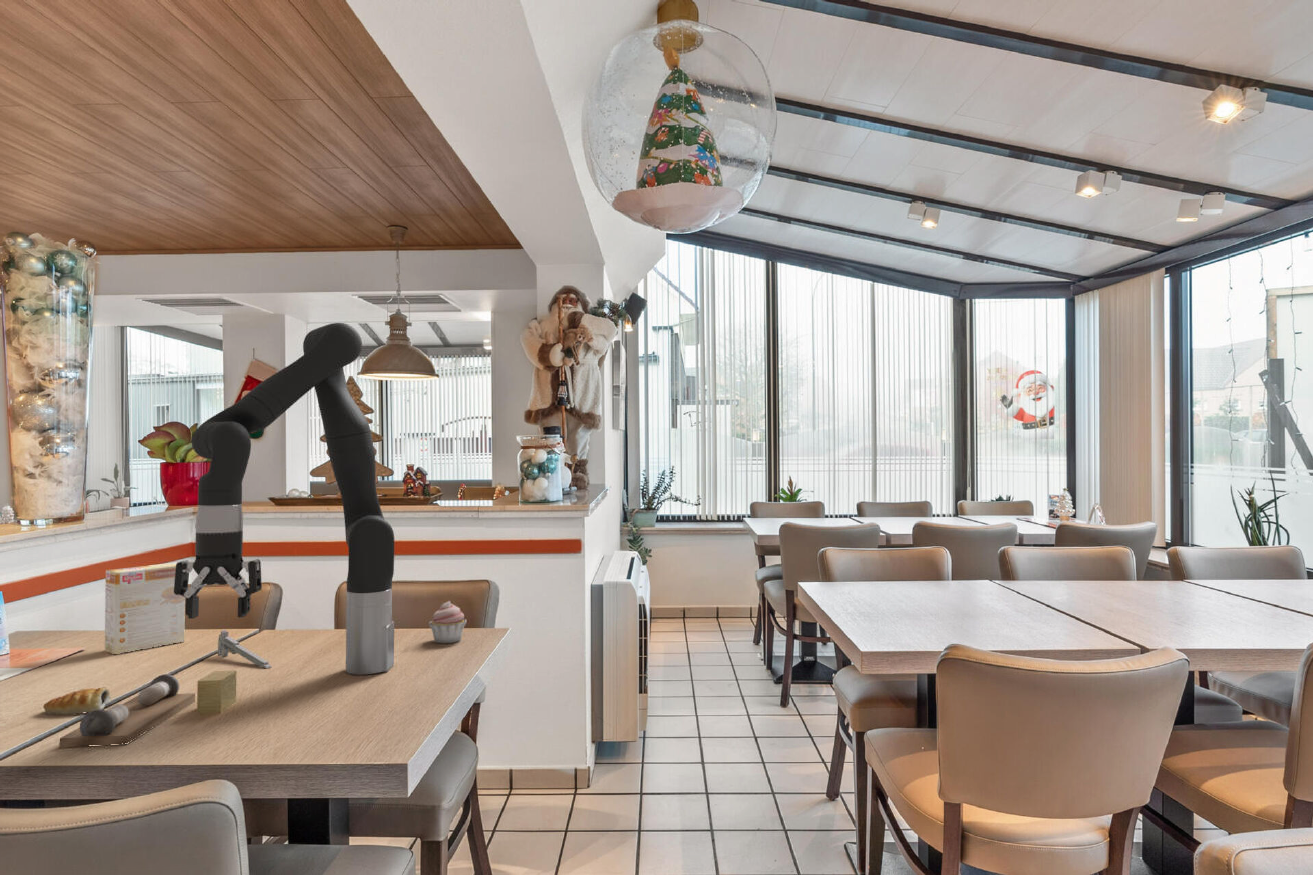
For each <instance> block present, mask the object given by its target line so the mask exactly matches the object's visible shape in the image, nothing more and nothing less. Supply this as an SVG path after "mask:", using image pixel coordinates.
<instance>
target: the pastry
mask: <svg viewBox="0 0 1313 875" xmlns="http://www.w3.org/2000/svg"><path fill="white" fill-rule="evenodd" d="M110 702H111V695H110V690H109V689H108V688H107V687H105V686H104V687H98V688H81V689H80V690H77V691H72V692H70V693H67V694H64V695H62V696H58V697H55V698H52V699H50V700H48V701H47V702H45V703H44V704H43V705H42V707H43V709H44V711H45V713H46V714H48V715H50V714H51V715H52V714H54V715H58V714H63V716H68V715H67V714H69V715H77V714H76V713H83V712H92V711H94V710H99V709H102V710H104V708H105V706H106V705H108V704H109V703H110ZM65 714H66V715H65ZM51 715H50V716H51Z"/></svg>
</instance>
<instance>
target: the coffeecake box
mask: <svg viewBox="0 0 1313 875" xmlns="http://www.w3.org/2000/svg"><path fill="white" fill-rule="evenodd" d="M177 563H178V562H168V563H160V564H151V565H141V566H134V567H133V566H132V567H124V568H116V569H115V568H114V569H106V570H105V582H104V583H105V585H104V586H105V590H104V592H105V593H104V594H105V596H104V600H105V602H104V604H105V605H104V651H105V650H106V651H108V652H107V653H109V652H110V654H111V653H112V655H113V654H117V655H121V653H122V654H125V653H124V652H128V653H132V652H131V651H133V652H136V651H135V650H138V651H141V650H140V649H143V650H147V649H148V648H149V649H153V648H152V647H154V648H158V646H159V647H163V646H162V645H165V646H169V644H170V645H173V643H176V644H180V642H181V643H184V642H185V635H186V634H185V628H186V626H185V625H186V624H185V623H186V622H185V618H186V617H185V616H186V613H185V611H186V598H185V597H184V596H182V595H175V594H174V583H175V571H176V564H177ZM149 649H148V650H149ZM106 651H105V652H106Z"/></svg>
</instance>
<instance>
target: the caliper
mask: <svg viewBox="0 0 1313 875" xmlns="http://www.w3.org/2000/svg"><path fill="white" fill-rule="evenodd" d="M229 653H230V654H232V655H237V654H238V655H239V656H240V657H243V658H244V659H246V660H247V661H249V662H250V663H252V664H254V665H256V666H257V667H259V668H261V669H262V668H263V669H266V670H268V669H271V668H272V666H271V664H269V660H266V659H264V658H263V657H261V656H259V655H258V654H256V653H254V652H252V651H251V650H250V649H249V650H248V649H247V648H246V647H244V646H242V645H241V644H240V642H239V641H237V640H236V639H234V638H232V637H231V636H229V631H227V630H226V629H223V630H221V631H220V634H219V635H218V641H217V656H218V657H219V656H220V657H222V658H225V657H228V656H229Z"/></svg>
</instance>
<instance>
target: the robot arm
mask: <svg viewBox="0 0 1313 875" xmlns="http://www.w3.org/2000/svg"><path fill="white" fill-rule="evenodd" d="M362 348H363V342H362V338H361V335H360V333H359V332H358V330H356V328H355V327H353V326H352V325H350V324H348V323H343V322H337V323H336V322H333V323H329V324H325V325H323V326H319V327H317V328H314V329H312V330H310V331H309V332H308V333H306V335H305V337H304V339H303V344H302V350H303V352H302V353H303V355H301V356H300V357H299V358H298V359H296V360H295V361H293V362H292V363H290V364H289V365H287V366H285V367H284V368H282V369H280V370H278V371H277V372H275V373H274V374H272V375H271V376H269V377H267V378H265V380H263V381H262V382H260V383H259V384H257V385H256V386H255V387H253V389H251V390H250V391H249V392H248V393H247V394H245V395H244V396H243V397H242V398H240V399H239V400H238V401H237V402H236V403H234V404H232V405H230V406H229V407H227V408H225V409H223V410H221V411H220V412H218V413H216V414H214V415H213V416H211V417H210V418H208V419H206V420H205V421H204V422H203V423H202V424H200V425H199V426H198V427H197V429H195V431H194V432H193V435H192V438H191V447H192V449H193V452H195V453H196V455H198V456H199V457H200V458H204V459H207V460H210V465H209V469H208V472H206V473H204V474H203V475H201V476H200V477H199V480H198V487H197V491H198V492H197V511H196V517H195V526H194V527H195V528H194V529H195V539H194V540H195V542H194V544H195V545H194V546H195V550H194V554H195V559H194V561H189V560H182V561H179V562H178V561H177V562H176V563H177V564H176V571H175V583H174V594H175V595H182V596H184V597H185V616H188V619H189V620H190V619H192V620H193V619H196V618H198V617H199V611H200V610H199V609H200V608H199V606H200V605H199V604H200V603H199V602H200V596H198V595H199V593H200V591H202V590H203V588H204V587H205V586H212V585H219V586H222V585H223V586H225V585H229V587H230V588H232V590H233V589H234V590H235V592H236V593H237V594H238V597H237V617H238V618H245V617H246V616H247V615H248V614H249V613H250V610H251V595H252V594H256V593H258V592H259V591H261V590H262V588H263V587H262V586H263V584H262V563H261V560H260V559H258V558H257V559H256V558H255V559H254V560H245V561H244V559H243V547H244V546H243V545H244V544H243V542H244V541H243V538H244V534H243V533H244V513H243V505H242V504H243V479H244V477H245V474H246V471H247V467H248V464H249V459H250V455H251V449H252V440H251V437H250V436H251V434H253V433H256V432H258V431H259V432H260V431H262V430H264V429H266V428H267V427H269V426H271V425H272V424H273V423H274V422H275V421H276V420H277V419H278V418H280V417H281V416H282V415H283V414H284V413H285V412H286V411H287V410H289V409H290V408H291V407H292V406H293V405H295V403H297V402H298V400H300V399H302V397H304V396H305V395H306V394H307V393H308V392H309V391H311V390H312V389H313V388H314V391H315V393H316V398H317V402H318V408H319V414H320V416H321V421H322V424H323V425H322V426H323V431H324V436H325V437H324V438H325V442H326V446H327V447H326V448H327V451H328V456H329V457H328V458H329V460H330V464H331V469H332V471H333V472H332V473H333V475H334V479H335V481H336V484H337V487H338V491H339V492H340V497H341V501H342V502H341V503H342V507H343V508H342V509H343V517H344V518H343V520H344V528H345V529H344V532H345V542H346V545H347V547H348V562H347V563H348V567H347V569H348V570H347V577H346V578H347V579H346V602H345V603H346V604H345V605H346V608H345V609H346V618H345V622H346V623H345V627H346V628H345V671H346V673H348V674H349V675H350V674H351V675H371V674H377V673H383V672H385V673H386V672H388V671H389V670H390V669H391V668H392V666H394V664H395V621H394V620H393V616H392V615H393V613H392V609H393V608H392V607H393V606H392V605H393V604H392V603H393V602H392V601H393V598H392V597H393V589H392V588H393V577H394V574H395V573H394V571H395V533H394V529H393V527H392V525H391V524H390V523H389V522H388V521H387V520H385V517H384V515H383V511H382V508H381V505H380V501H379V497H378V493H377V485H376V484H377V483H376V482H377V481H376V480H377V479H376V476H377V475H376V473H377V470H376V453H375V446H374V441H373V437H372V432H371V426H370V425H369V422H368V420H367V418H366V416H365V414H364V413H363V412H362V410H361V409H360V407H359V405H357V403H356V401H355V400H354V398H352V395H351V393H350V391H349V389H348V388H349V387H348V386H347V381H346V375H345V370H344V367H346V366H347V365H350V364H351V363H353V362H355V361H356V360H357V359H358V358H359V357H360V355H361V353H362ZM243 569H244V570H245V572H246V573H248V584H247V582H246V580H245V578H244V577H243V576H242V574H241V571H242V570H243ZM193 570H194V572H195V573H196V574H197V575H196V577H195V579H194V580H193V581H192V582H191V583H190V586H189V580H190V579H189V578H190V573H191V572H192V571H193Z"/></svg>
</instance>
